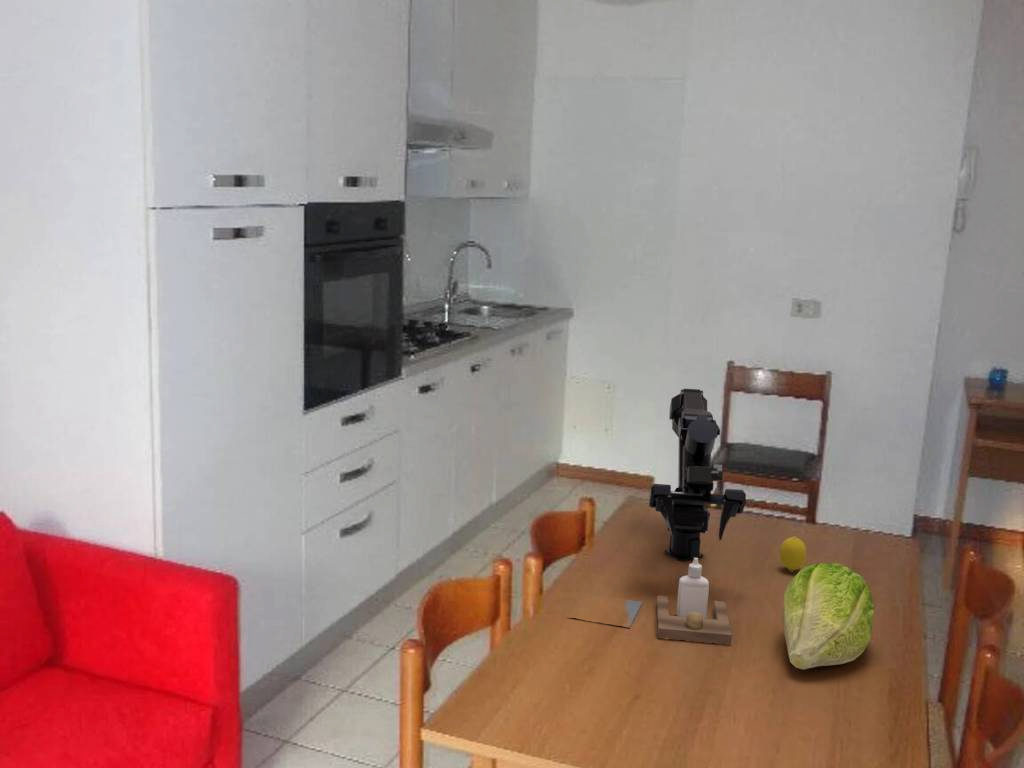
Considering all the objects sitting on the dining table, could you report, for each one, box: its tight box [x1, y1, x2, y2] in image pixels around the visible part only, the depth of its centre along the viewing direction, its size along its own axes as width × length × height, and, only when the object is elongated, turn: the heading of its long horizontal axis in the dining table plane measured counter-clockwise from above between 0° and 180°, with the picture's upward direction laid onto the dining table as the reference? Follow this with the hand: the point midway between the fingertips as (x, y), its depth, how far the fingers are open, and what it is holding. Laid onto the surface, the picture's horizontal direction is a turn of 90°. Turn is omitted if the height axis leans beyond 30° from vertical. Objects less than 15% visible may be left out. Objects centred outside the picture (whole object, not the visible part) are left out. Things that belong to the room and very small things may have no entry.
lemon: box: [779, 535, 807, 572], centre depth 214 cm, size 6×6×8 cm
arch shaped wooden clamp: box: [656, 595, 733, 646], centre depth 186 cm, size 15×13×4 cm
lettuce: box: [782, 562, 875, 670], centre depth 176 cm, size 15×25×16 cm
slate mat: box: [623, 599, 643, 627], centre depth 191 cm, size 12×12×1 cm
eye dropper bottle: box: [676, 558, 710, 619], centre depth 188 cm, size 4×6×12 cm
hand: (696, 537), depth 194 cm, fingers open, 9 cm apart
